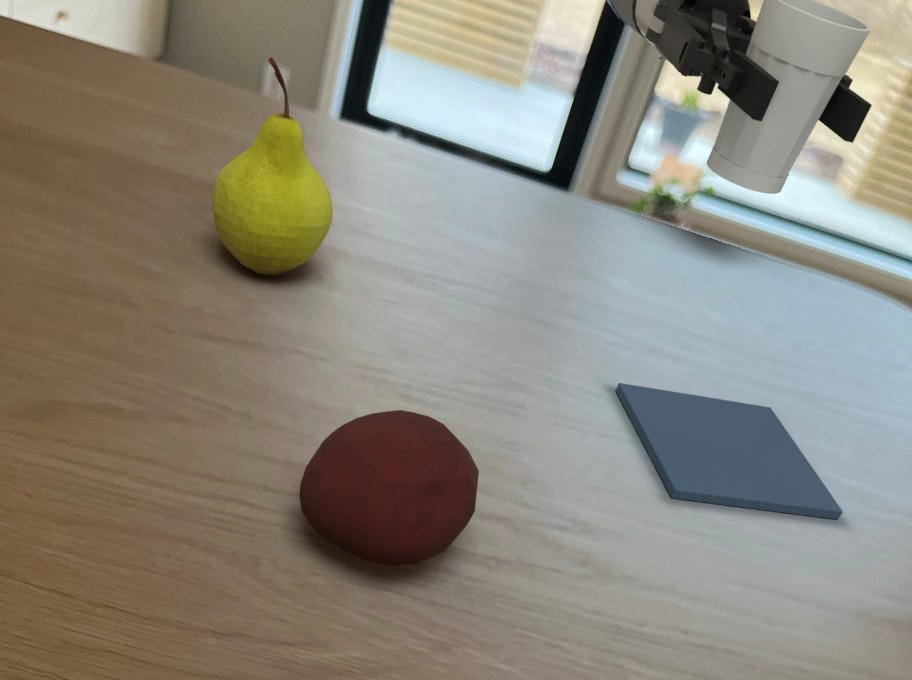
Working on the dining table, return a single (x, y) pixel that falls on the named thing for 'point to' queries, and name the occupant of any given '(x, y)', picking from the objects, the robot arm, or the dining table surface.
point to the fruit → (272, 199)
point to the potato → (390, 488)
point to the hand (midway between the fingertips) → (812, 111)
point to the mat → (725, 453)
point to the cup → (786, 90)
